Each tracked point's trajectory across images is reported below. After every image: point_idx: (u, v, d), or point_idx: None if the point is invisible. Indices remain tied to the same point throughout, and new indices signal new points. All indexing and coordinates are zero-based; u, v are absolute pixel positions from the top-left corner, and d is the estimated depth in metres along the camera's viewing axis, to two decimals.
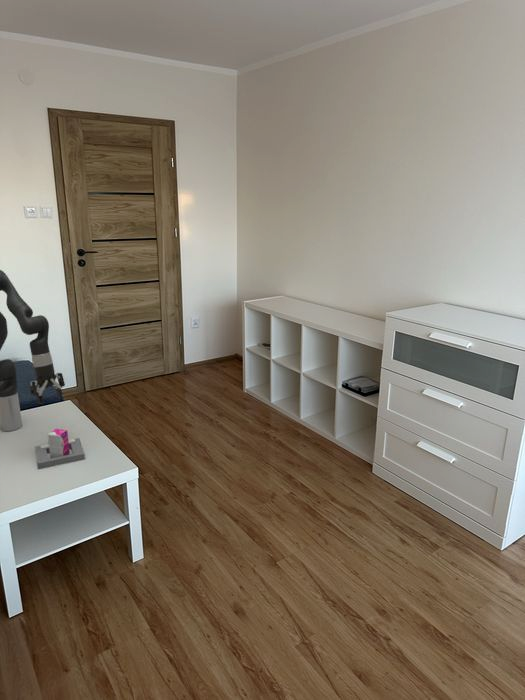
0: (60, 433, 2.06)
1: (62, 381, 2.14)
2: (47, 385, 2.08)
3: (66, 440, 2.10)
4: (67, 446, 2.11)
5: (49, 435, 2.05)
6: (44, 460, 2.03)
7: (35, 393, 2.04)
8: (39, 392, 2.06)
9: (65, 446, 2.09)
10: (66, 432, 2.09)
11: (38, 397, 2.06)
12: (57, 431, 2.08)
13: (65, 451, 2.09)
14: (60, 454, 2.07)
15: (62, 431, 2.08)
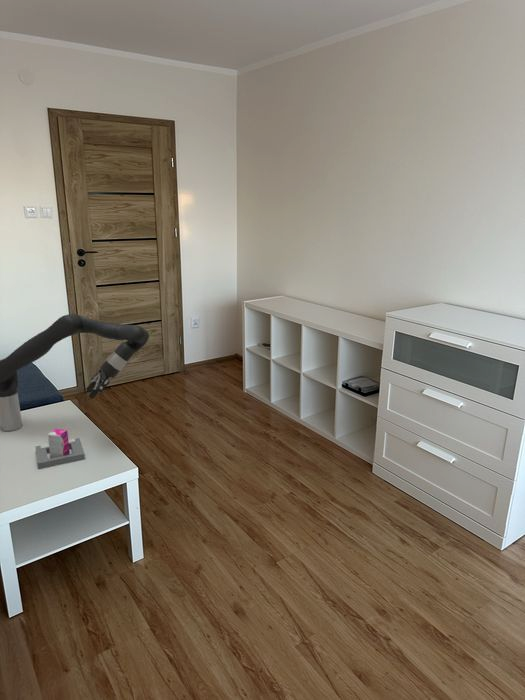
0: (60, 433, 2.06)
1: None
2: None
3: (66, 440, 2.10)
4: (67, 446, 2.11)
5: (49, 435, 2.05)
6: (44, 460, 2.03)
7: None
8: None
9: (65, 446, 2.09)
10: (66, 432, 2.09)
11: (96, 393, 2.08)
12: (57, 431, 2.08)
13: (65, 451, 2.09)
14: (60, 454, 2.07)
15: (62, 431, 2.08)
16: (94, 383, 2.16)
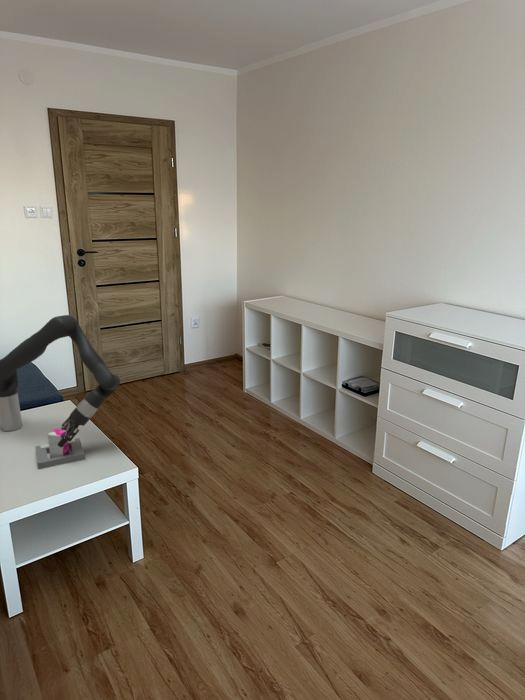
0: (60, 433, 2.06)
1: None
2: None
3: None
4: (67, 446, 2.11)
5: (49, 435, 2.05)
6: (44, 460, 2.03)
7: None
8: None
9: (65, 446, 2.09)
10: None
11: (65, 441, 2.05)
12: (57, 431, 2.08)
13: (65, 451, 2.09)
14: (60, 454, 2.07)
15: (62, 431, 2.08)
16: None
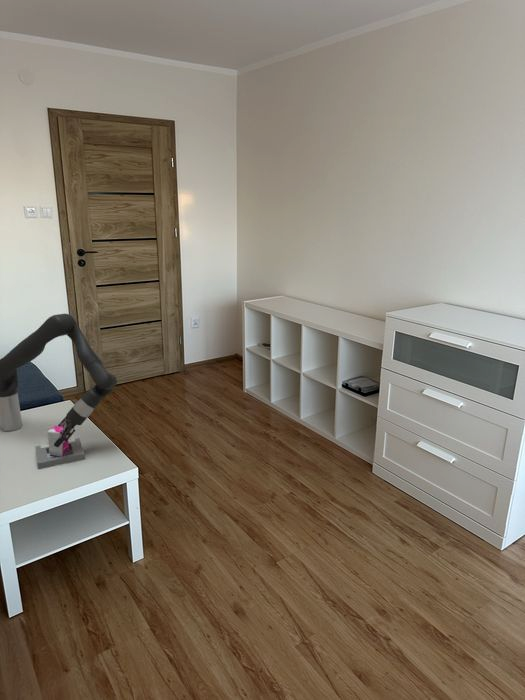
0: (59, 430, 2.06)
1: None
2: None
3: None
4: (66, 444, 2.10)
5: (48, 432, 2.05)
6: (44, 460, 2.03)
7: None
8: None
9: (64, 444, 2.08)
10: None
11: (61, 441, 2.04)
12: (56, 428, 2.08)
13: (64, 448, 2.09)
14: (59, 451, 2.07)
15: (61, 428, 2.08)
16: None
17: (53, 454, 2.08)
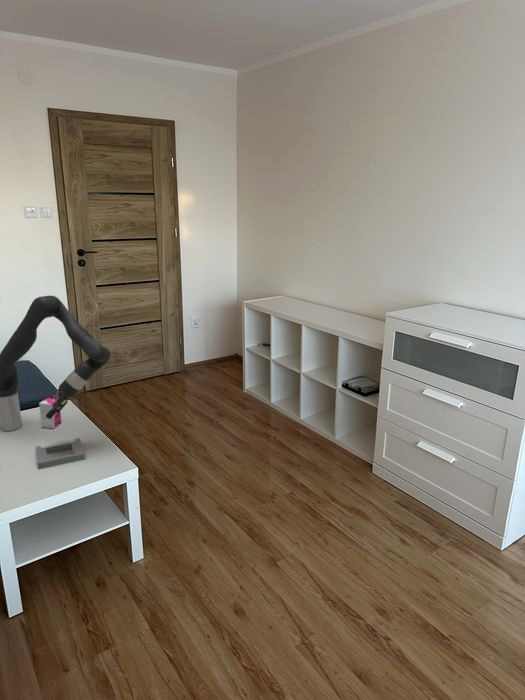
0: (52, 402, 2.05)
1: None
2: None
3: None
4: (59, 416, 2.09)
5: (40, 404, 2.04)
6: (44, 460, 2.03)
7: None
8: None
9: (56, 416, 2.07)
10: None
11: (53, 413, 2.03)
12: (49, 400, 2.07)
13: (56, 421, 2.08)
14: (51, 423, 2.05)
15: (54, 400, 2.07)
16: None
17: (45, 426, 2.06)
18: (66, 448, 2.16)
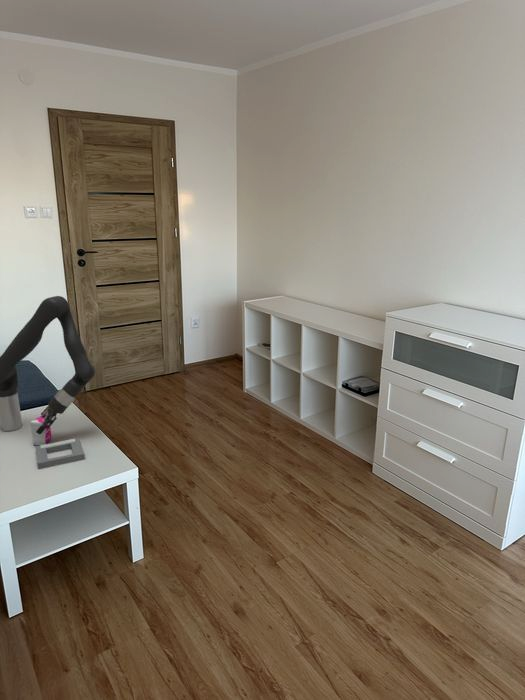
0: (42, 421, 2.18)
1: None
2: None
3: (48, 428, 2.21)
4: (49, 434, 2.22)
5: (32, 423, 2.17)
6: (44, 460, 2.03)
7: None
8: None
9: (47, 434, 2.20)
10: None
11: (43, 429, 2.15)
12: (39, 419, 2.20)
13: (47, 438, 2.20)
14: (42, 441, 2.18)
15: None
16: None
17: (36, 444, 2.19)
18: (66, 448, 2.16)
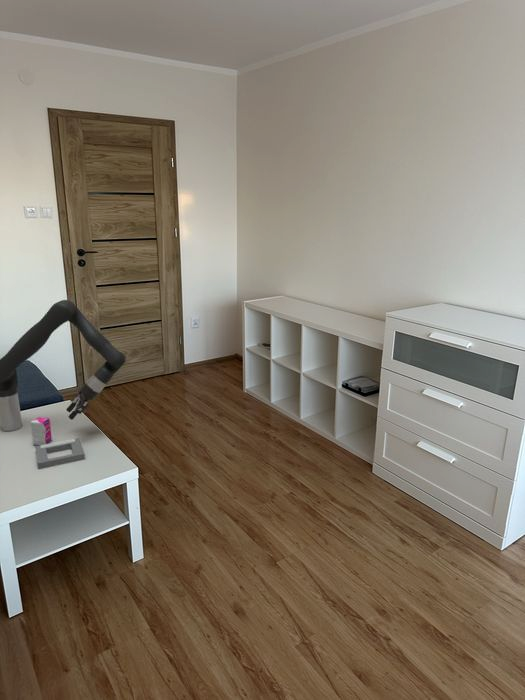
0: (42, 421, 2.18)
1: None
2: None
3: (48, 428, 2.21)
4: (49, 434, 2.22)
5: (32, 423, 2.17)
6: (44, 460, 2.03)
7: None
8: (80, 411, 2.20)
9: (47, 434, 2.20)
10: (48, 420, 2.20)
11: (76, 414, 2.19)
12: (39, 419, 2.20)
13: (47, 438, 2.20)
14: (42, 441, 2.18)
15: (44, 419, 2.20)
16: (74, 404, 2.27)
17: (36, 444, 2.19)
18: (66, 448, 2.16)
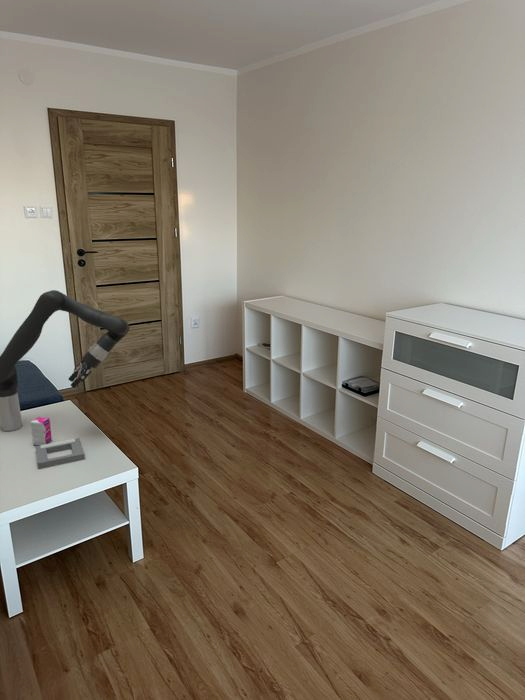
0: (42, 421, 2.18)
1: None
2: None
3: (48, 428, 2.21)
4: (49, 434, 2.22)
5: (32, 423, 2.17)
6: (44, 460, 2.03)
7: None
8: None
9: (47, 434, 2.20)
10: (48, 420, 2.20)
11: (78, 382, 2.15)
12: (39, 419, 2.20)
13: (47, 438, 2.20)
14: (42, 441, 2.18)
15: (44, 419, 2.20)
16: (76, 373, 2.23)
17: (36, 444, 2.19)
18: (66, 448, 2.16)
